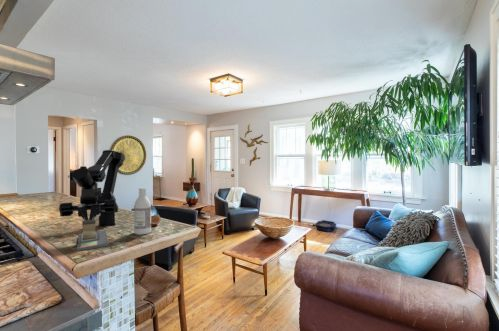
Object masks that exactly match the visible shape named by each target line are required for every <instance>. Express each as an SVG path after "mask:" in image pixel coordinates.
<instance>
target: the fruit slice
mask: <svg viewBox="0 0 499 331" xmlns="http://www.w3.org/2000/svg"><path fill="white" fill-rule="evenodd" d="M160 223H161V216H160V215H159V214H155V215H151V227H155V226H157V225H159V224H160Z"/></svg>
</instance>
